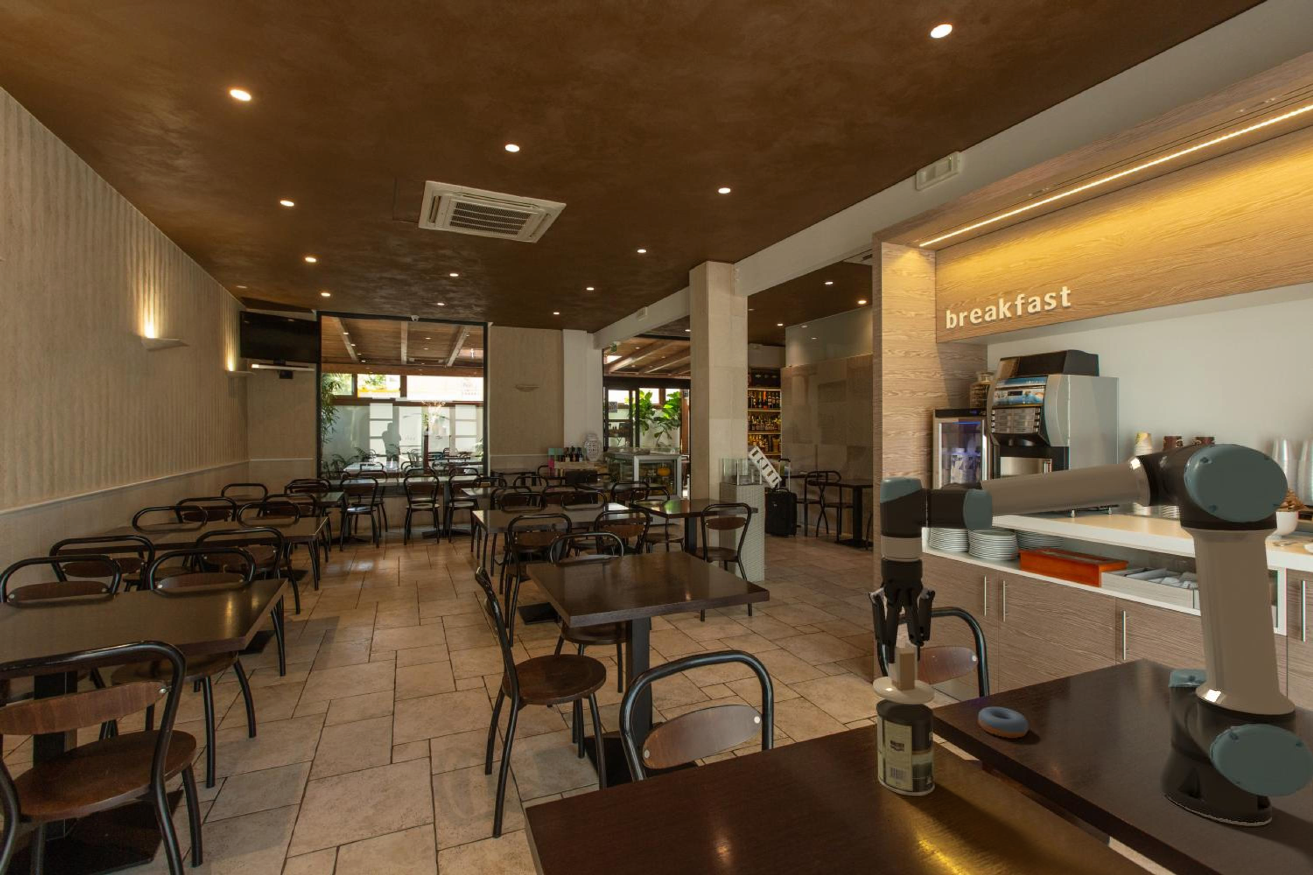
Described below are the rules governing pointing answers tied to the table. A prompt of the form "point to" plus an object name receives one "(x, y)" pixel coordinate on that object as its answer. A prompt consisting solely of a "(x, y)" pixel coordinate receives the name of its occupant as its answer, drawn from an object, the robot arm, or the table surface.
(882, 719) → the coffee can
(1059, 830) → the table surface
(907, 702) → the lid
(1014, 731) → the doughnut
